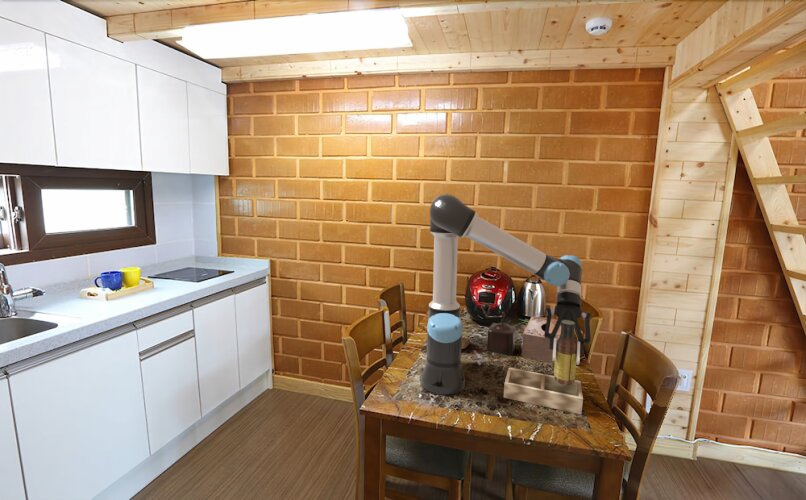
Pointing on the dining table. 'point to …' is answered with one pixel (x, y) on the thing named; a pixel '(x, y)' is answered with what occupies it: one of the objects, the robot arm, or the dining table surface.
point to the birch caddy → (543, 390)
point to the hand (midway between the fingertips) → (565, 360)
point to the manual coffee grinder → (500, 335)
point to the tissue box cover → (538, 339)
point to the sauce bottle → (566, 354)
